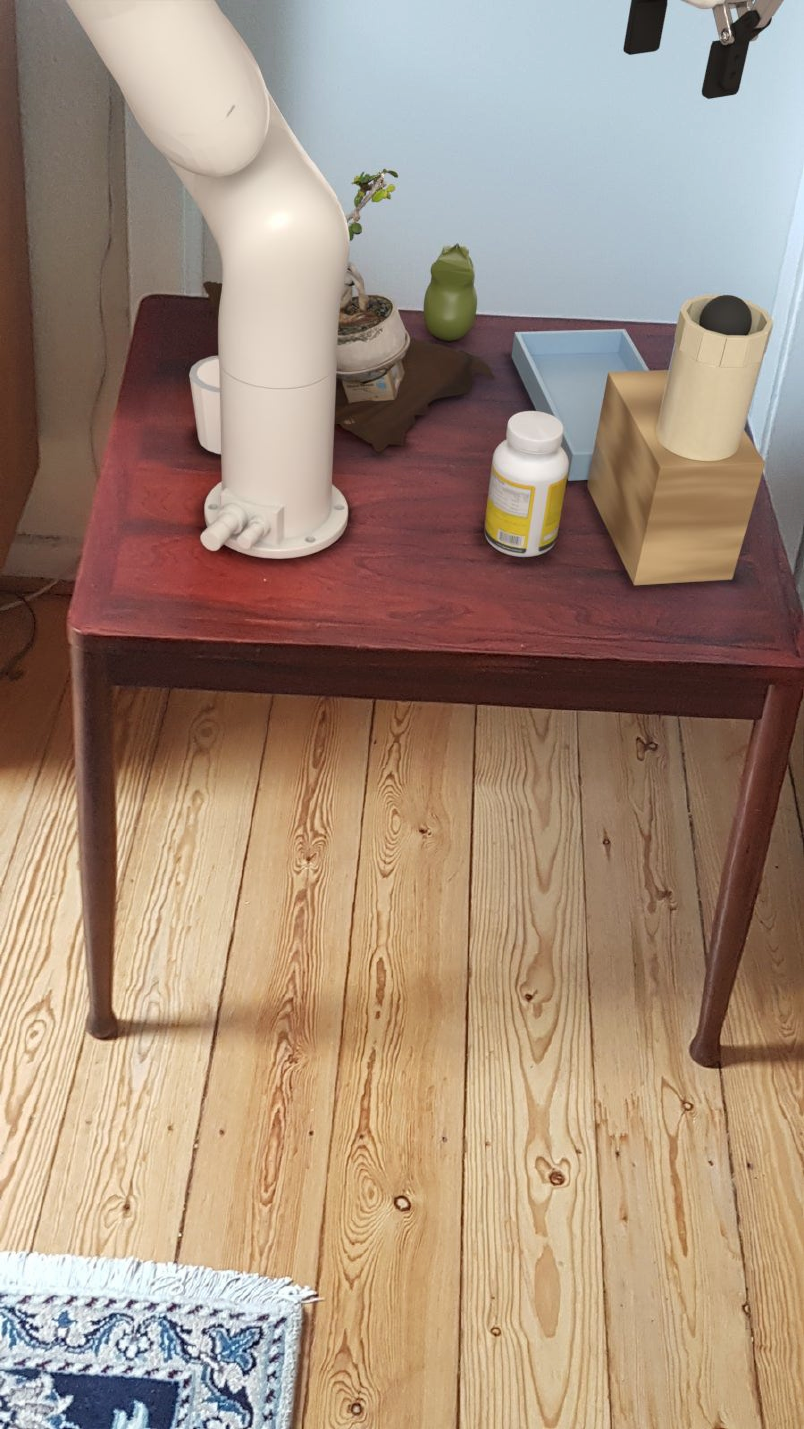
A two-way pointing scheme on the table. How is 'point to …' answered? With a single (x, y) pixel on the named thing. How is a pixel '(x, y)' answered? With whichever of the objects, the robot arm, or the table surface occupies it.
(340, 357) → the potted plant
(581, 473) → the tray
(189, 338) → the table surface
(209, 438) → the shot glass
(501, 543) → the pill bottle
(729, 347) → the jar
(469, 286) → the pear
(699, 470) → the plinth
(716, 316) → the ball
